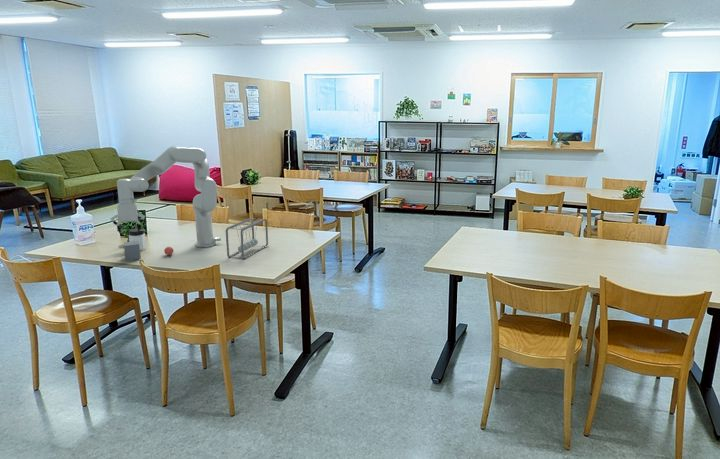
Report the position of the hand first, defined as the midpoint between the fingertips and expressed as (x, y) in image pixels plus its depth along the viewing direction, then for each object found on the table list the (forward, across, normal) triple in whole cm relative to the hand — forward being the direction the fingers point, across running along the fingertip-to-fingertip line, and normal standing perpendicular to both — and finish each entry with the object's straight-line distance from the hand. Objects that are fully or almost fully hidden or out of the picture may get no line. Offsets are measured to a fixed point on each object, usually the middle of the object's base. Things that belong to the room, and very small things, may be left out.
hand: (129, 231), depth 277 cm
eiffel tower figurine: (+16, +1, -30) cm, 34 cm away
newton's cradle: (+15, -63, +14) cm, 66 cm away
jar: (+16, -4, -18) cm, 24 cm away
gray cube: (+16, -1, 0) cm, 16 cm away
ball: (+13, -20, +2) cm, 23 cm away
